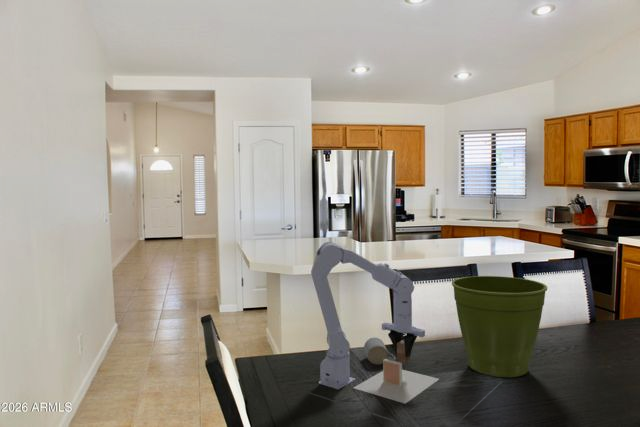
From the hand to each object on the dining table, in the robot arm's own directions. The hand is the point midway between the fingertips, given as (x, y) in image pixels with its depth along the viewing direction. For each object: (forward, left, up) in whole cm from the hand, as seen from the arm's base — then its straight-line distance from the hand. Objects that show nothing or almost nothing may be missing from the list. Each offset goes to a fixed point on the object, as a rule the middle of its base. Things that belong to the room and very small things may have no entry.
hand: (402, 355), depth 159 cm
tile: (-7, 0, -7) cm, 10 cm away
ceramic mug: (+8, +14, -8) cm, 18 cm away
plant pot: (+26, -21, -8) cm, 35 cm away
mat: (-6, -1, -8) cm, 9 cm away
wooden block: (0, 0, -2) cm, 2 cm away
